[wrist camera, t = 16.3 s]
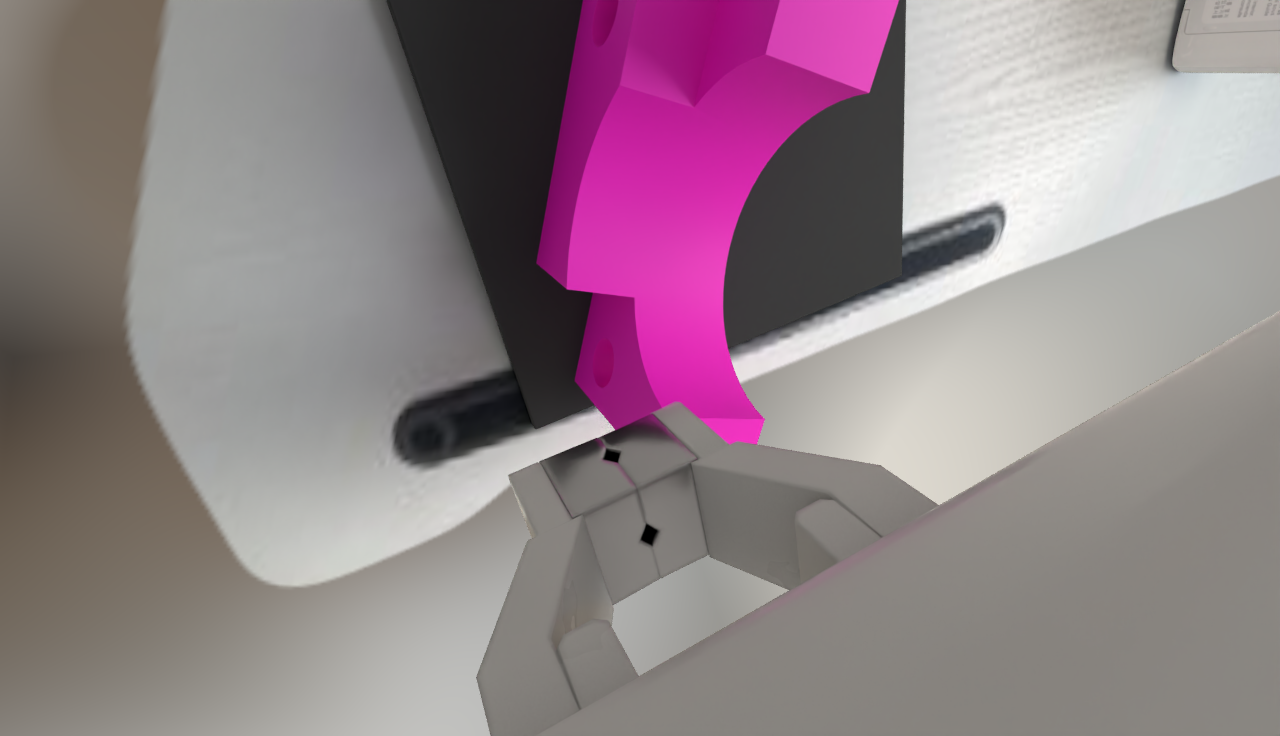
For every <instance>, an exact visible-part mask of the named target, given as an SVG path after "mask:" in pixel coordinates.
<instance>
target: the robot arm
mask: <svg viewBox="0 0 1280 736" xmlns="http://www.w3.org/2000/svg"><path fill="white" fill-rule="evenodd" d="M508 476H509V480H510V483H511V486H512V488H513V491H514V493H515V496H516V499H517V501H518V504H519V506H520V509H521V511H522V514H523V517H524V519H525V522H526V524H527V527H528V530H529V532H530V534H531V537H532V539H530V540H528V541H527V543H526V545H525V548H524V551H523V553H522V556H521V559H520V561H519V564H518V567H517V570H516V572H515V575H514V578H513V580H512V583H511V586H510V589H509V591H508V594H507V597H506V599H505V602H504V605H503V607H502V610H501V613H500V615H499V618H498V621H497V623H496V626H495V629H494V631H493V634H492V637H491V639H490V642H489V645H488V647H487V650H486V653H485V655H484V658H483V661H482V663H481V666H480V669H479V671H478V674H477V677H476V678H477V682H478V686H479V690H480V694H481V698H482V702H483V706H484V710H485V715H486V718H487V722H488V727H489V731H490V735H491V736H1280V311H1278V312H1277V313H1275V314H1273V315H1271V316H1270V317H1268V318H1266V319H1264V320H1263V321H1261V322H1259V323H1257V324H1256V325H1254V326H1252V327H1251V328H1249V329H1247V330H1245V331H1243V332H1242V333H1240V334H1238V335H1236V336H1235V337H1233V338H1231V339H1229V340H1228V341H1226V342H1224V343H1222V344H1221V345H1219V346H1217V347H1215V348H1214V349H1212V350H1210V351H1208V352H1207V353H1205V354H1203V355H1202V356H1200V357H1198V358H1196V359H1194V360H1193V361H1191V362H1189V363H1187V364H1186V365H1184V366H1182V367H1180V368H1179V369H1177V370H1175V371H1173V372H1172V373H1170V374H1168V375H1166V376H1164V377H1163V378H1161V379H1159V380H1158V381H1156V382H1154V383H1152V384H1150V385H1149V386H1147V387H1145V388H1143V389H1142V390H1140V391H1138V392H1137V393H1135V394H1133V395H1131V396H1129V397H1128V398H1126V399H1124V400H1123V401H1121V402H1119V403H1117V404H1116V405H1114V406H1112V407H1110V408H1108V409H1107V410H1105V411H1103V412H1101V413H1100V414H1098V415H1096V416H1094V417H1093V418H1091V419H1089V420H1087V421H1086V422H1084V423H1082V424H1080V425H1079V426H1077V427H1075V428H1073V429H1072V430H1070V431H1068V432H1067V433H1065V434H1063V435H1061V436H1059V437H1058V438H1056V439H1054V440H1052V441H1051V442H1049V443H1047V444H1045V445H1044V446H1042V447H1040V448H1038V449H1037V450H1035V451H1033V452H1031V453H1030V454H1028V455H1026V456H1024V457H1023V458H1021V459H1019V460H1018V461H1016V462H1014V463H1012V464H1010V465H1009V466H1007V467H1006V468H1004V469H1002V470H1000V471H998V472H997V473H995V474H993V475H991V476H990V477H988V478H986V479H984V480H983V481H981V482H979V483H977V484H976V485H974V486H972V487H971V488H969V489H967V490H965V491H963V492H962V493H960V494H958V495H956V496H955V497H953V498H951V499H949V500H948V501H946V502H944V503H942V504H941V505H937V504H936V503H935V502H933V501H932V500H930V499H929V498H927V497H926V496H925V495H923V494H922V493H920V492H919V491H917V490H916V489H914V488H913V487H911V486H910V485H908V484H907V483H906V482H904V481H903V480H901V479H900V478H898V477H897V476H895V475H894V474H892V473H891V472H889V471H888V470H886V469H885V468H884V467H882V466H881V465H875V464H869V463H863V462H857V461H851V460H845V459H839V458H833V457H828V456H822V455H816V454H810V453H803V452H797V451H792V450H785V449H780V448H774V447H768V446H762V445H756V444H750V443H745V442H739V441H737V442H734V443H732V444H730V445H729V444H728V443H727V442H726V441H725V440H723V439H722V438H721V437H720V436H719V435H718V434H717V433H715V432H714V431H713V430H712V429H711V428H710V427H709V426H707V425H706V424H705V423H704V422H703V421H702V420H700V419H699V418H698V417H697V416H696V415H695V414H694V413H692V412H691V411H690V410H689V409H688V408H687V407H685V406H684V405H683V404H682V403H681V402H676V401H675V402H673V403H671V404H669V405H667V406H665V407H663V408H661V409H659V410H656V411H654V412H652V413H650V415H647V416H645V417H643V418H641V419H639V420H636V421H634V422H632V423H630V424H628V425H625V426H623V427H621V428H619V429H617V430H615V431H612V432H610V433H608V434H606V435H604V436H601V437H599V438H595V439H593V440H590V441H588V442H585V443H583V444H581V445H578V446H576V447H573V448H571V449H569V450H566V451H564V452H561V453H559V454H556V455H554V456H552V457H549V458H547V459H544V460H542V461H540V462H539V463H538V462H537V463H535V464H532V465H530V466H528V467H526V468H523V469H521V470H519V471H516V472H514V473H512V474H510V475H508ZM707 555H710V557H711V558H714V559H716V560H718V561H721V562H723V563H726V564H728V565H730V566H733V567H735V568H738V569H740V570H743V571H745V572H747V573H750V574H752V575H754V576H757V577H759V578H761V579H764V580H766V581H769V582H771V583H774V584H776V585H778V586H781V587H783V588H785V589H788V590H789V591H787V592H786V593H784V594H782V595H780V596H779V597H777V598H775V599H773V600H772V601H770V602H768V603H767V604H765V605H763V606H761V607H760V608H758V609H756V610H754V611H752V612H751V613H749V614H747V615H745V616H744V617H742V618H740V619H738V620H737V621H735V622H733V623H731V624H730V625H728V626H727V627H724V628H723V629H721V630H719V631H717V632H716V633H714V634H713V635H711V636H709V637H707V638H705V639H704V640H702V641H700V642H698V643H697V644H695V645H693V646H692V647H690V648H688V649H686V650H684V651H682V652H681V653H679V654H677V655H676V656H674V657H672V658H670V659H669V660H667V661H665V662H663V663H662V664H660V665H658V666H656V667H655V668H653V669H651V670H649V671H647V672H646V673H644V674H642V675H641V676H638V674H637V673H636V671H635V669H634V667H633V665H632V663H631V662H630V660H629V658H628V656H627V654H626V653H625V650H624V649H623V647H622V645H621V643H620V641H619V640H618V638H617V636H616V634H615V632H614V630H613V629H612V627H611V626H612V619H613V605H614V604H616V603H618V602H619V601H621V600H623V599H625V598H627V597H628V596H630V595H632V594H634V593H635V592H637V591H639V590H641V589H643V588H644V587H646V586H648V585H650V584H652V583H653V582H655V581H657V580H659V579H660V578H663V577H664V576H667V575H669V574H671V573H673V572H674V571H677V570H679V569H681V568H683V567H685V566H687V565H689V564H691V563H693V562H695V561H697V560H699V559H701V558H703V557H705V556H707Z"/></svg>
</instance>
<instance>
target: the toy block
mask: <svg viewBox="0 0 1280 736" xmlns="http://www.w3.org/2000/svg"><path fill="white" fill-rule="evenodd" d="M898 2H899V0H583V3H582V9H581V14H580V20H579V25H578V31H577V37H576V42H575V48H574V54H573V59H572V65H571V71H570V76H569V82H568V87H567V93H566V99H565V104H564V110H563V116H562V121H561V127H560V132H559V138H558V144H557V149H556V155H555V161H554V166H553V172H552V178H551V183H550V189H549V194H548V200H547V206H546V211H545V217H544V223H543V228H542V234H541V239H540V245H539V251H538V256H537V262H536V263H537V264H538V265H539V266H540V267H541V268H542V269H544V270H545V271H546V272H547V273H548V274H550V275H551V276H552V277H553V278H554V279H555V280H557V281H558V282H559V283H560V284H561V285H562V286H564V287H565V288H566V289H569V290H577V291H585V292H593V295H592V299H591V304H590V309H589V314H588V319H587V323H586V328H585V333H584V338H583V342H582V347H581V352H580V357H579V361H578V366H577V371H576V376H575V382H576V383H577V384H578V386H579V387H580V388H581V389H582V390H583V392H584V393H585V394H586V395H587V396H588V398H589V399H590V400H591V401H592V402H593V403H594V405H595V406H596V407H597V408H598V409H599V411H600V412H601V413H602V414H603V415H604V417H605V418H606V419H607V420H608V421H609V423H610V424H611V425H612V426H613V427H614V428H615V430H617V429H619V428H621V427H623V426H625V425H628V424H630V423H632V422H634V421H636V420H639V419H641V418H643V417H645V416H647V415H650V413H652V412H654V411H656V410H659V409H661V408H663V407H665V406H667V405H669V404H671V403H673V402H675V401H676V402H681V403H682V404H683V405H684V406H685V407H687V408H688V409H689V410H690V411H691V412H692V413H694V414H695V415H696V416H697V417H698V418H699V419H700V420H702V421H703V422H704V423H705V424H706V425H707V426H709V427H710V428H711V429H712V430H713V431H714V432H715V433H717V434H718V435H719V436H720V437H721V438H722V439H723V440H725V441H726V442H727V443H728V444H729V445H730V444H732V443H734V442H737V441H739V442H745V443H750V444H756V445H757V442H758V439H759V436H760V433H761V430H762V426H763V423H764V420H765V419H764V418H763V417H762V416H761V415H760V414H759V412H758V411H757V410H756V409H755V408H754V406H753V405H752V403H751V402H750V401H749V399H748V398H747V396H746V394H745V392H744V391H743V389H742V387H741V385H740V383H739V380H738V378H737V376H736V374H735V371H734V368H733V365H732V362H731V359H730V355H729V351H728V347H727V341H726V336H725V328H724V318H723V288H724V276H725V269H726V263H727V257H728V253H729V248H730V244H731V240H732V237H733V233H734V230H735V227H736V224H737V221H738V218H739V215H740V213H741V210H742V208H743V206H744V203H745V201H746V199H747V197H748V195H749V193H750V191H751V189H752V187H753V185H754V183H755V182H756V180H757V178H758V176H759V175H760V173H761V171H762V170H763V168H764V167H765V165H766V164H767V162H768V161H769V160H770V158H771V157H772V156H773V155H774V153H775V152H776V151H777V149H778V148H779V147H780V146H781V145H782V144H783V143H784V142H785V140H786V139H787V138H788V137H789V136H790V135H791V134H792V133H793V132H794V131H795V130H797V129H798V128H799V127H800V126H801V125H802V124H803V123H805V122H806V121H807V120H809V119H810V118H811V117H813V116H814V115H816V114H817V113H819V112H820V111H822V110H824V109H825V108H827V107H829V106H831V105H833V104H835V103H837V102H839V101H842V100H845V99H848V98H850V97H853V96H857V95H862V94H867V93H869V92H870V89H871V86H872V83H873V80H874V77H875V73H876V70H877V67H878V64H879V61H880V58H881V55H882V52H883V48H884V45H885V42H886V39H887V36H888V33H889V30H890V27H891V23H892V20H893V17H894V14H895V11H896V8H897V5H898Z"/></svg>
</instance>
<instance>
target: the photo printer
mask: <svg viewBox="0 0 1280 736" xmlns="http://www.w3.org/2000/svg"><path fill="white" fill-rule="evenodd" d="M1172 65H1173V67H1174V68H1175V69H1176V70H1177V71H1179V72H1183V73H1280V0H1186V2H1185V6H1184V10H1183V12H1182V16H1181V20H1180V24H1179V29H1178V33H1177V37H1176V41H1175V46H1174V52H1173V58H1172Z"/></svg>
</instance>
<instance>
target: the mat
mask: <svg viewBox="0 0 1280 736" xmlns="http://www.w3.org/2000/svg"><path fill="white" fill-rule="evenodd" d="M387 3H388V6H389V9H390V12H391V15H392V17H393V20H394V23H395V26H396V29H397V32H398V35H399V38H400V41H401V44H402V47H403V49H404V52H405V55H406V58H407V61H408V64H409V67H410V70H411V73H412V76H413V79H414V81H415V84H416V87H417V90H418V93H419V96H420V99H421V102H422V105H423V108H424V111H425V114H426V116H427V119H428V122H429V125H430V128H431V131H432V134H433V137H434V140H435V143H436V146H437V148H438V151H439V154H440V157H441V160H442V163H443V166H444V169H445V172H446V175H447V178H448V181H449V183H450V186H451V189H452V192H453V195H454V198H455V201H456V204H457V207H458V210H459V213H460V215H461V218H462V221H463V224H464V227H465V230H466V233H467V236H468V239H469V242H470V245H471V247H472V250H473V253H474V256H475V259H476V262H477V265H478V268H479V271H480V274H481V277H482V280H483V282H484V285H485V288H486V291H487V294H488V297H489V300H490V303H491V306H492V309H493V312H494V314H495V317H496V320H497V323H498V326H499V329H500V332H501V335H502V338H503V341H504V344H505V346H506V349H507V352H508V355H509V358H510V361H511V364H512V367H513V370H514V373H515V376H516V379H517V381H518V384H519V387H520V390H521V393H522V396H523V399H524V402H525V405H526V408H527V411H528V413H529V416H530V419H531V422H532V425H533V426H534V428H535V429H538V428H540V427H543V426H545V425H548V424H550V423H552V422H555V421H557V420H560V419H562V418H564V417H567V416H569V415H571V414H574V413H576V412H579V411H581V410H583V409H586V408H588V407H590V406H593V405H594V403H593V402H592V401H591V400H590V399H589V398H588V396H587V395H586V394H585V393H584V392H583V390H582V389H581V388H580V387H579V386H578V384H577V383H576V382H575V376H576V371H577V366H578V361H579V357H580V352H581V347H582V342H583V338H584V333H585V328H586V323H587V319H588V314H589V309H590V304H591V299H592V295H593V292H585V291H577V290H569V289H566V288H565V287H564V286H562V285H561V284H560V283H559V282H558V281H557V280H555V279H554V278H553V277H552V276H551V275H550V274H548V273H547V272H546V271H545V270H544V269H542V268H541V267H540V266H539V265H538V264H537V263H536V262H537V256H538V251H539V245H540V239H541V234H542V228H543V223H544V217H545V211H546V206H547V200H548V194H549V189H550V183H551V178H552V172H553V166H554V161H555V155H556V149H557V144H558V138H559V132H560V127H561V121H562V116H563V110H564V104H565V99H566V93H567V87H568V82H569V76H570V71H571V65H572V59H573V54H574V48H575V42H576V37H577V31H578V25H579V20H580V14H581V9H582V3H583V0H387ZM905 23H906V0H899V2H898V5H897V8H896V11H895V14H894V17H893V20H892V23H891V27H890V30H889V33H888V36H887V39H886V42H885V45H884V48H883V52H882V55H881V58H880V61H879V64H878V67H877V70H876V73H875V77H874V80H873V83H872V86H871V89H870V92H869V93H867V94H862V95H857V96H853V97H850V98H848V99H845V100H842V101H839V102H837V103H835V104H833V105H831V106H829V107H827V108H825V109H824V110H822V111H820V112H819V113H817V114H816V115H814V116H813V117H811V118H810V119H809V120H807V121H806V122H805V123H803V124H802V125H801V126H800V127H799V128H798V129H797V130H795V131H794V132H793V133H792V134H791V135H790V136H789V137H788V138H787V139H786V140H785V142H784V143H783V144H782V145H781V146H780V147H779V148H778V149H777V151H776V152H775V153H774V155H773V156H772V157H771V158H770V160H769V161H768V162H767V164H766V165H765V167H764V168H763V170H762V171H761V173H760V175H759V176H758V178H757V180H756V182H755V183H754V185H753V187H752V189H751V191H750V193H749V195H748V197H747V199H746V201H745V203H744V206H743V208H742V210H741V213H740V215H739V218H738V221H737V224H736V227H735V230H734V233H733V237H732V240H731V244H730V248H729V253H728V257H727V263H726V269H725V276H724V288H723V318H724V328H725V336H726V341H727V347H728V348H731V347H733V346H735V345H738V344H740V343H743V342H745V341H747V340H750V339H752V338H754V337H757V336H759V335H762V334H764V333H766V332H769V331H771V330H773V329H776V328H778V327H781V326H783V325H785V324H788V323H790V322H792V321H795V320H797V319H800V318H802V317H804V316H807V315H809V314H812V313H814V312H816V311H819V310H821V309H823V308H826V307H828V306H831V305H833V304H835V303H838V302H840V301H842V300H845V299H847V298H850V297H852V296H854V295H857V294H859V293H861V292H864V291H866V290H869V289H871V288H873V287H876V286H878V285H880V284H883V283H885V282H888V281H890V280H892V279H895V278H897V277H899V276H901V275H902V214H903V150H904V87H905Z"/></svg>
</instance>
